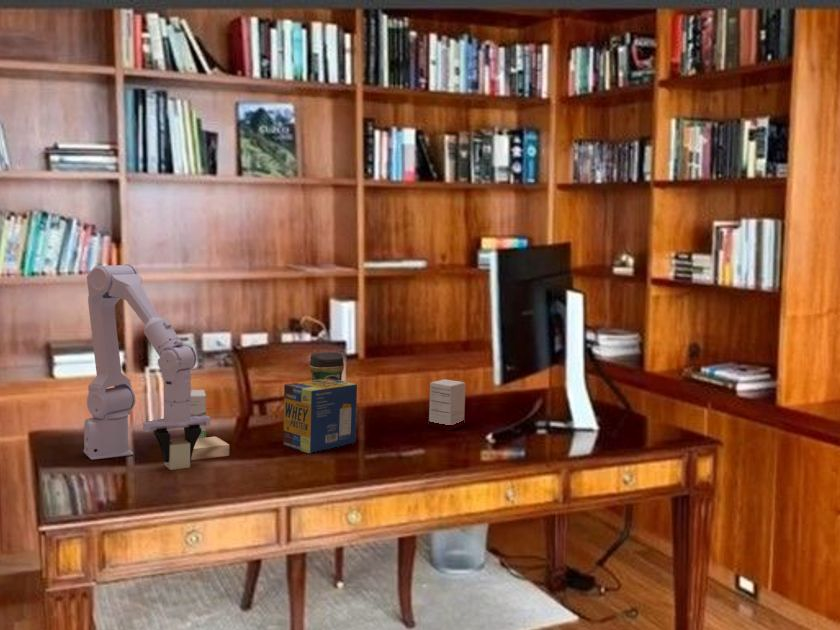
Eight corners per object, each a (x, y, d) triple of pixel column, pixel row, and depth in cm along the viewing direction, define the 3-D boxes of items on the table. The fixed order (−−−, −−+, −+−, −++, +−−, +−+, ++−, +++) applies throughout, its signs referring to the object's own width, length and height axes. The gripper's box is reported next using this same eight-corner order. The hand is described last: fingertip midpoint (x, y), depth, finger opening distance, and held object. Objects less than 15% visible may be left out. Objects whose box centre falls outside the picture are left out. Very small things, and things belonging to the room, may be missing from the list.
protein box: (282, 445, 213) (283, 384, 212) (329, 436, 225) (330, 377, 223) (309, 454, 206) (310, 390, 205) (356, 443, 218) (358, 383, 216)
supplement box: (442, 422, 244) (444, 378, 243) (464, 426, 240) (466, 382, 239) (427, 427, 238) (429, 382, 237) (450, 431, 234) (451, 385, 233)
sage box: (170, 469, 190) (170, 443, 189) (164, 465, 193) (164, 439, 193) (190, 467, 192) (190, 441, 192) (183, 462, 196) (183, 437, 195)
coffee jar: (336, 412, 253) (337, 350, 251) (346, 418, 246) (348, 353, 244) (305, 415, 249) (306, 351, 247) (314, 420, 242) (316, 355, 240)
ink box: (206, 441, 215) (206, 395, 214) (186, 442, 214) (186, 395, 212) (204, 433, 223) (204, 388, 222) (184, 434, 222) (184, 389, 221)
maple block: (191, 461, 198) (191, 449, 198) (179, 452, 206) (179, 440, 205) (229, 457, 203) (229, 444, 203) (215, 448, 211) (215, 436, 210)
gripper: (149, 406, 184) (149, 468, 185) (215, 400, 192) (214, 460, 193) (140, 400, 190) (140, 460, 191) (204, 394, 198) (204, 452, 199)
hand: (177, 460), depth 193 cm, fingers closed on sage box, 4 cm apart
